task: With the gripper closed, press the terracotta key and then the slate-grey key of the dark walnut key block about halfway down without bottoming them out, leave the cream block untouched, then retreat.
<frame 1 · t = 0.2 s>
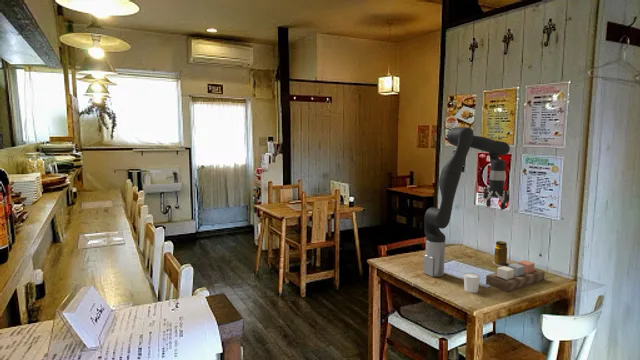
hand: (495, 208, 210), 29 cm above the table, fingers open, 8 cm apart
terracotta key: (526, 266, 184), point 6 cm above the table, slide at 0.0 cm
key block: (515, 281, 181), on the table
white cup: (471, 290, 172), on the table
condiment: (501, 264, 206), on the table
slate key: (516, 269, 180), point 6 cm above the table, slide at 0.0 cm
cream block: (505, 272, 176), point 6 cm above the table, slide at 0.0 cm
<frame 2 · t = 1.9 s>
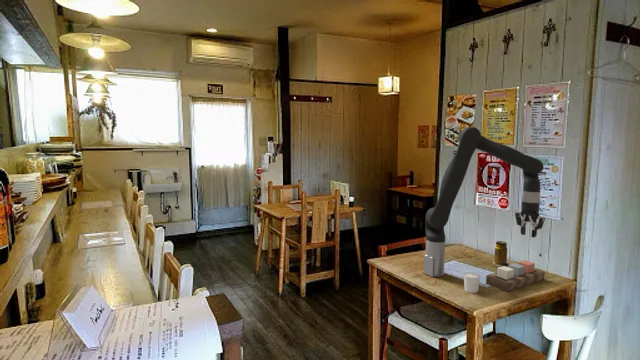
hand: (528, 235, 182), 21 cm above the table, fingers open, 4 cm apart
nothing on the table moved.
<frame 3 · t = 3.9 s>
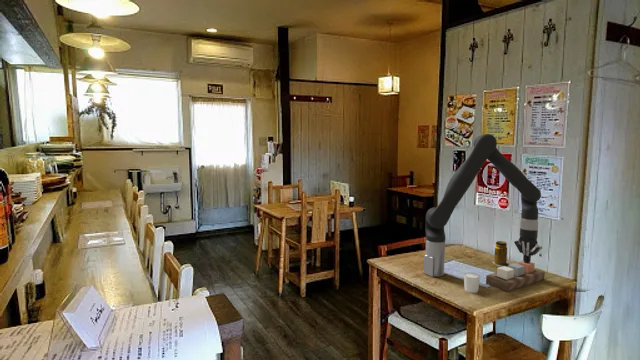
hand: (526, 262, 184), 8 cm above the table, fingers closed
terracotta key: (526, 266, 184), point 6 cm above the table, slide at 0.0 cm, touching gripper
everything else where it was.
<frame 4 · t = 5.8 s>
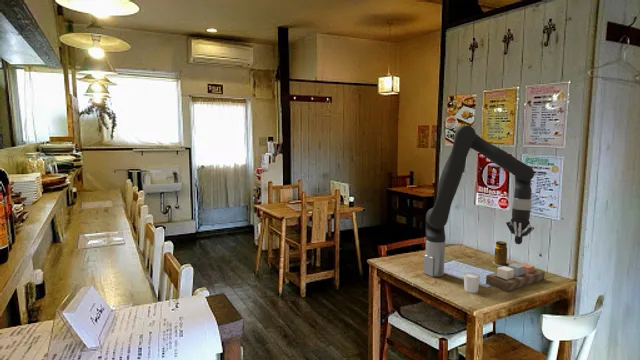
hand: (518, 243, 180), 18 cm above the table, fingers closed
terracotta key: (526, 269, 184), point 5 cm above the table, slide at 1.4 cm
everything else where it was.
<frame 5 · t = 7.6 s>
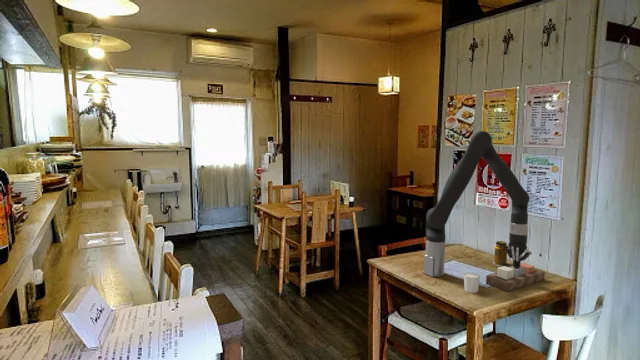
hand: (516, 268, 180), 7 cm above the table, fingers closed
slate key: (515, 272, 180), point 5 cm above the table, slide at 1.2 cm, touching gripper
everything else where it was.
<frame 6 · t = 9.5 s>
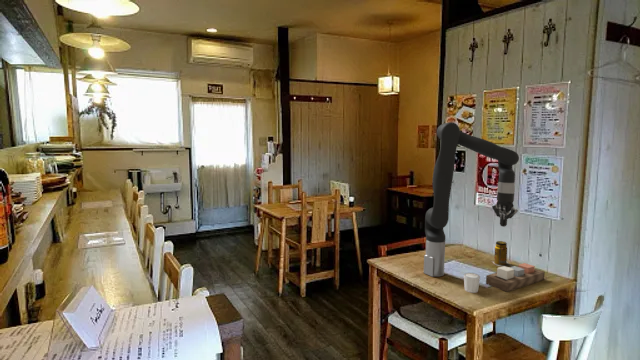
hand: (503, 226, 188), 25 cm above the table, fingers closed
slate key: (515, 272, 180), point 5 cm above the table, slide at 1.4 cm
everything else where it was.
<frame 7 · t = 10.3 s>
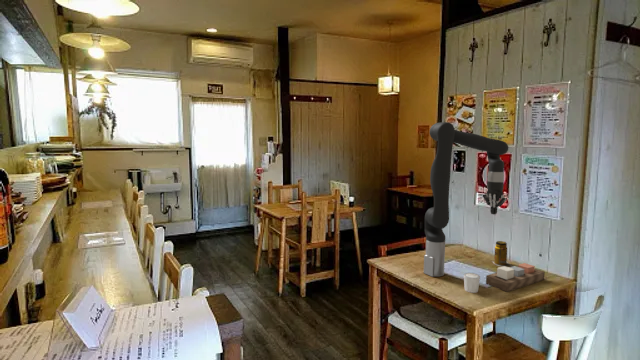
hand: (493, 214, 195), 29 cm above the table, fingers closed
nothing on the table moved.
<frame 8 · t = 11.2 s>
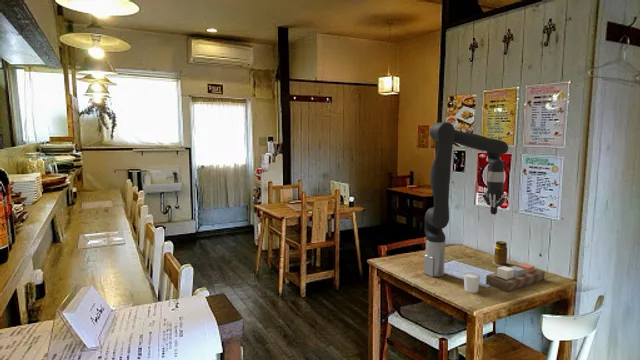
hand: (493, 214, 195), 29 cm above the table, fingers closed
nothing on the table moved.
at the end: terracotta key slide at 1.4 cm; slate key slide at 1.4 cm; cream block slide at 0.0 cm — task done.
